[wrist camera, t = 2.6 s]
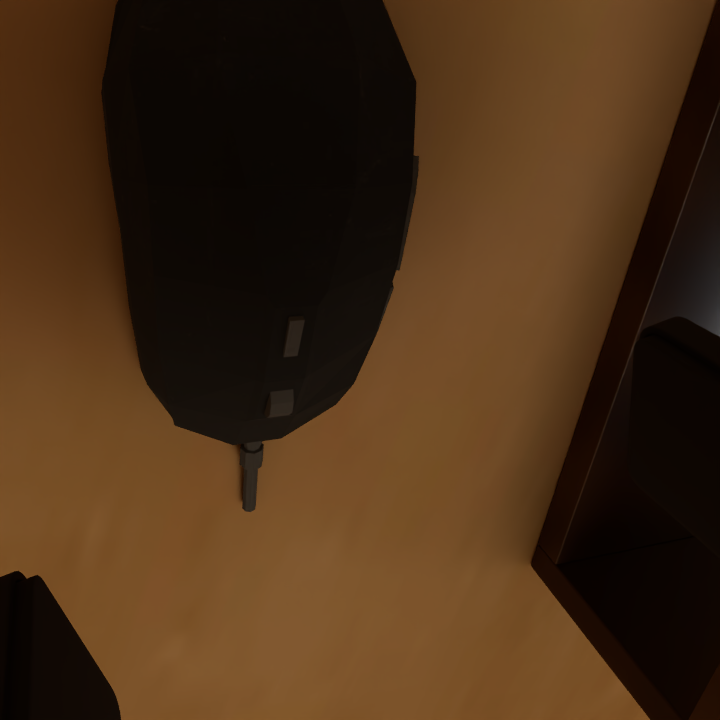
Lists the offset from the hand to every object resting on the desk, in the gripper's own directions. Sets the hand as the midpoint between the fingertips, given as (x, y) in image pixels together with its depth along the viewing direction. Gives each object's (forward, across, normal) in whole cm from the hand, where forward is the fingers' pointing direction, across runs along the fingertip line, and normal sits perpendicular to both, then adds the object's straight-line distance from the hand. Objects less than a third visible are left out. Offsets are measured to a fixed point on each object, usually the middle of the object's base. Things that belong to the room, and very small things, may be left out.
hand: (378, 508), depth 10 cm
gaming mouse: (+9, 0, 0) cm, 9 cm away
